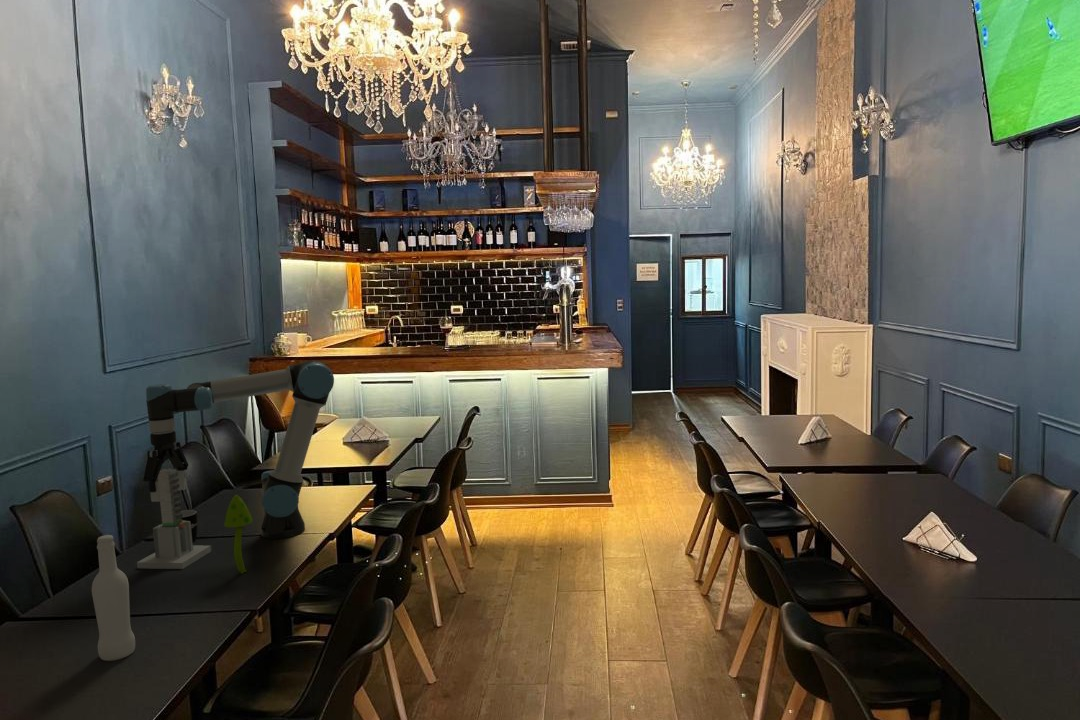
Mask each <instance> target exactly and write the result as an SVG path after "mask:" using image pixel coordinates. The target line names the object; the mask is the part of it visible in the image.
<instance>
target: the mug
mask: <svg viewBox="0 0 1080 720" xmlns="http://www.w3.org/2000/svg"><path fill="white" fill-rule="evenodd" d="M180 514H182V517H181V519H183V521H190V523H191V533H192V543H193V542H195V541H196V539H197V537H198V536H197V535H198V513H197V510H194V509H186V510H182V511H180Z"/></svg>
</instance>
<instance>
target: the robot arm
mask: <svg viewBox="0 0 1080 720" xmlns="http://www.w3.org/2000/svg"><path fill="white" fill-rule="evenodd" d="M334 376H335V375H334V373H333V371H332V370H331V368H330V367H329V366H328V365H327V364H326V363H325V362H323V361H321V360H317V359H312V360H307V361H304V362H303V361H302V362H300V363H296V364H291V365H290V364H289V365H288V366H287V367H285V368H284V369H279V370H273V371H265V372H260V373H259V372H258V373H253V374H248V375H247V374H246V375H242V376H235V377H230V378H223V379H217V380H211V381H204V382H194V383H191V384H189V385H188V386H187V387H186V388H183V389H182V388H181V389H172V385H171V384H170V383H164V384H163V383H162V384H160V383H159V384H153V385H149V386H147V387H146V390H145V397H146V399H145V402H146V408H147V417H148V424H149V425H148V426H149V433H150V436H149V437H150V445H151V446H153V449H154V450H147V451H146V453H147V455H146V456H147V459H146V463H145V468H144V475H143V478H142V481H143V482H145V483H148V487H149V492H150V501H151V502H152V503H153V502H155V503H157V502H159V503H160V492H159V482H158V475H159V472H160V470H162V466H163V464H164V463H165V462H166V461H168V460H169V462H170V463H171V464H172V465H173V467H175V468H174V469H176V472H178V476H177V478H179V481H178V482H177V484H179V488H178V490H180V491H185V490H186V489H187V487H186V475H185V474H186V471H187V470H188V467H189V462H188V460H187V458H186V456H185V454H184V451H183V449H182V445H181V442H180V441H177V434H176V433H177V432H176V431H175V430H176V423H175V422H176V421H175V414H174V413H176V414H177V413H184V412H196V411H197V412H198V411H199V412H202V411H205V410H211V409H212V408H213V404H214V403H219V402H224V401H225V402H226V401H231V400H237V399H243V398H244V399H245V398H250V397H254V396H262V395H266V394H272V393H273V394H274V393H279V392H285V391H290V392H292V395H291V397H292V398H293V401H294V405H293V408H292V411H291V415H290V418H289V422H288V425H287V428H286V431H285V435H284V438H283V442H282V444H281V445H282V446H281V448H280V452H279V455H278V459H277V462H276V465H275V468H274V469H272V470H266V471H264V472H262V473H261V479H260V481H261V485H262V486H261V487H262V496H261V505H262V508H263V509H264V510H263V511H264V515H263V518H262V523H261V526H260V527H261V528H260V535H261V537H262V538H264V539H273V540H275V539H276V540H277V539H285V538H290V537H294V536H298V535H300V534H302V533H304V532H305V530H306V525H305V521H304V519H303V516H302V514H301V512H300V510H299V503H300V501H299V499H300V493H301V489H302V487H303V483H304V479H303V476H302V474H301V473H302V470H303V467H304V465H305V462H306V461H305V460H306V458H307V454H308V451H309V447H310V443H311V440H312V437H313V434H314V431H315V426H316V423H317V420H318V416H319V414H320V409H322V408H323V407H325V406H326V405H327V403H328V399H329V395H330V393H331V392H332V389H333V388H334V384H335V378H334Z"/></svg>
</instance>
